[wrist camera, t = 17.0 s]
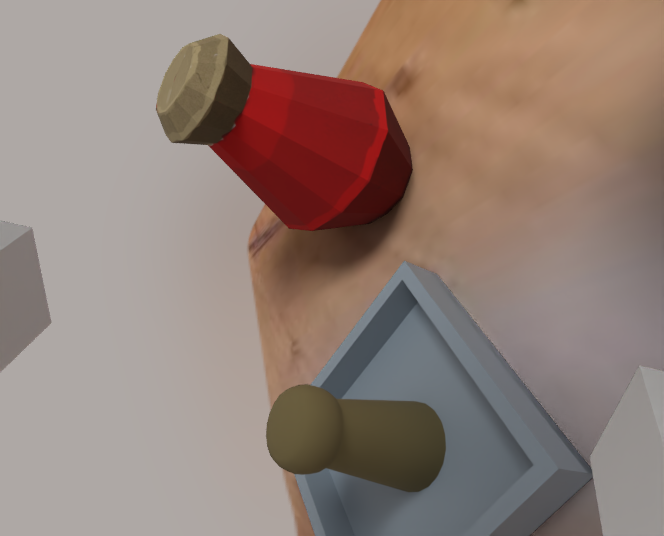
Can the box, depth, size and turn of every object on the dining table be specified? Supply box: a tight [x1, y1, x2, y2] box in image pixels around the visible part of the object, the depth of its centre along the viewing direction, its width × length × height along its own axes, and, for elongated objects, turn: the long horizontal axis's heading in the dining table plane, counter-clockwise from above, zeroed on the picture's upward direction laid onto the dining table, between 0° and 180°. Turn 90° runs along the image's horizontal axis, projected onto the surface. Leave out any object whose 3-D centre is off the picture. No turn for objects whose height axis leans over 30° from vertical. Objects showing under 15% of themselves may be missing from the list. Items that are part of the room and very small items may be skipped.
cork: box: [266, 384, 446, 492], centre depth 37 cm, size 6×6×11 cm
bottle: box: [156, 34, 413, 231], centre depth 48 cm, size 16×14×20 cm
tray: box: [294, 261, 593, 536], centre depth 40 cm, size 18×18×4 cm
